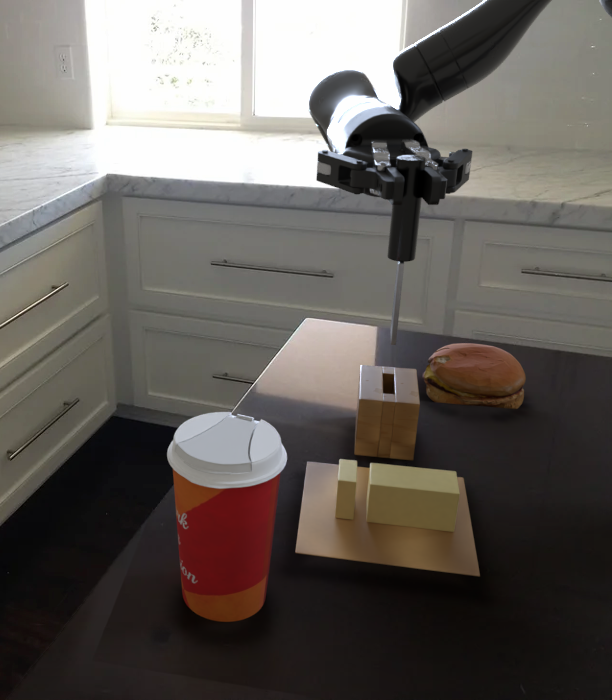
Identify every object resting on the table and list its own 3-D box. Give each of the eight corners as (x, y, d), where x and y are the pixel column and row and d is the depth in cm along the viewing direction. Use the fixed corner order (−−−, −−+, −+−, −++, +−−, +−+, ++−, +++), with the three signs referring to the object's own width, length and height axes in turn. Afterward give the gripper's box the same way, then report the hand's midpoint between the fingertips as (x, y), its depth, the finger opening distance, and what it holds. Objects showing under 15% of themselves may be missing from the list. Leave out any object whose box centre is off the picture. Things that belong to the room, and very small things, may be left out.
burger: (542, 406, 87) (550, 364, 85) (467, 425, 84) (473, 382, 82) (474, 368, 95) (479, 329, 93) (403, 384, 92) (407, 344, 90)
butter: (450, 508, 69) (456, 471, 67) (454, 532, 66) (460, 493, 64) (366, 499, 70) (370, 462, 69) (366, 522, 67) (370, 484, 66)
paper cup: (197, 562, 66) (198, 398, 60) (294, 592, 62) (304, 422, 57) (148, 627, 59) (144, 451, 54) (253, 665, 56) (260, 482, 50)
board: (461, 492, 73) (463, 477, 73) (477, 592, 62) (480, 576, 61) (306, 475, 76) (307, 461, 76) (294, 568, 65) (295, 552, 64)
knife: (405, 332, 75) (425, 154, 69) (406, 346, 72) (427, 162, 66) (379, 330, 76) (396, 153, 69) (379, 344, 73) (397, 161, 67)
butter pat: (354, 497, 70) (357, 460, 69) (353, 520, 68) (356, 482, 66) (336, 495, 71) (339, 458, 69) (334, 518, 68) (338, 480, 66)
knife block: (408, 435, 82) (416, 368, 79) (411, 474, 76) (420, 404, 73) (354, 430, 83) (360, 364, 80) (353, 468, 77) (359, 398, 74)
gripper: (304, 107, 80) (328, 143, 65) (456, 105, 80) (518, 141, 64) (299, 187, 83) (322, 240, 68) (446, 185, 83) (503, 239, 67)
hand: (417, 192), depth 66 cm, fingers closed on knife, 2 cm apart
